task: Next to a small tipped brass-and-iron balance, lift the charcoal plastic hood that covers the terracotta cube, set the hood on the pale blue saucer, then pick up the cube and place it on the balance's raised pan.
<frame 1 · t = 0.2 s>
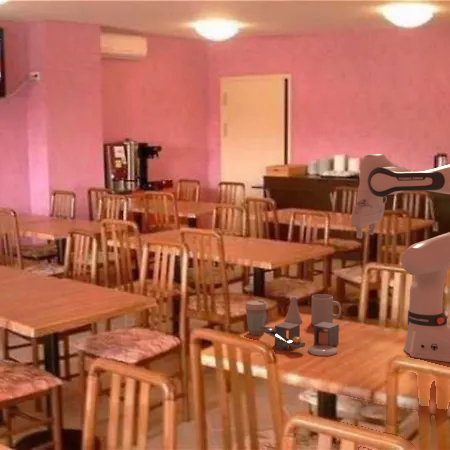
hand: (365, 236, 278), 38 cm above the table, tool pointing down, fingers open, 8 cm apart
hood a: (326, 343, 279), on the table
balance: (282, 348, 273), on the table
mug: (326, 324, 305), on the table
saucer: (322, 351, 270), on the table
hood b: (287, 344, 279), on the table
block: (326, 343, 279), on the table
flask: (293, 322, 308), on the table
coffee cup: (256, 333, 293), on the table
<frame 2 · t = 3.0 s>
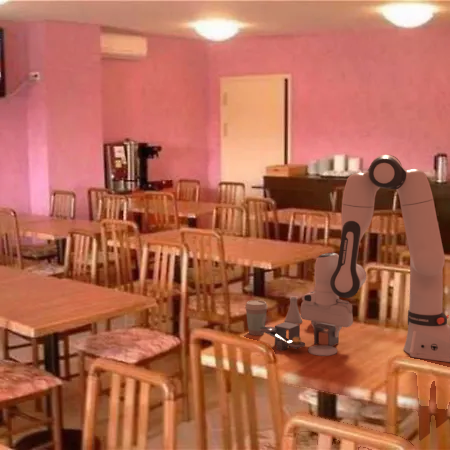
hand: (326, 334, 278), 3 cm above the table, tool pointing down, fingers closed on hood a, 6 cm apart
hood a: (326, 343, 279), on the table, touching gripper
everything else where it was.
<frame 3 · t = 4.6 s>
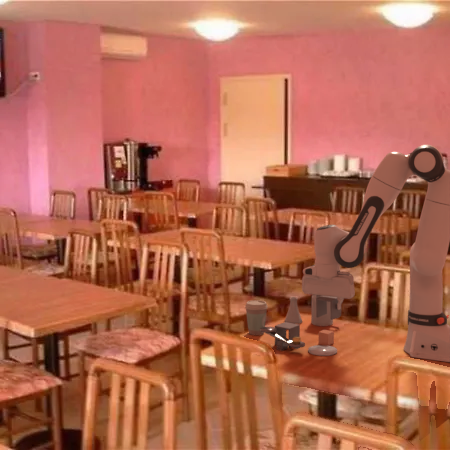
hand: (328, 307, 277), 13 cm above the table, tool pointing down, fingers closed on hood a, 6 cm apart
hood a: (328, 316, 277), point 10 cm above the table, touching gripper
everything else where it was.
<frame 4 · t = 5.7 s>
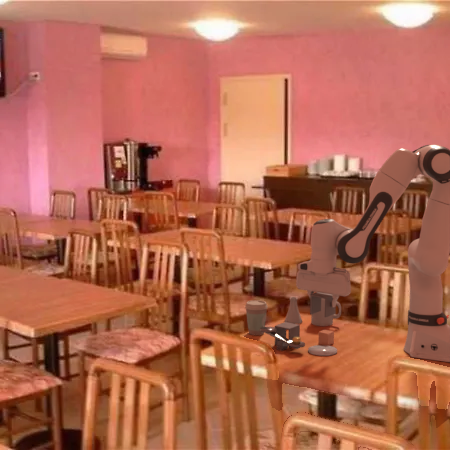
hand: (322, 305, 267), 17 cm above the table, tool pointing down, fingers closed on hood a, 6 cm apart
hood a: (322, 314, 268), point 13 cm above the table, touching gripper
everything else where it was.
when the fingers open (6 cm above the table, at t = 8.2 s): hood a drops 1 cm, resting on saucer.
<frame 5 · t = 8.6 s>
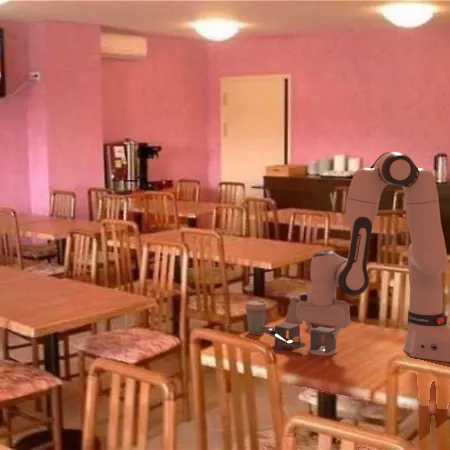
hand: (322, 336, 269), 6 cm above the table, tool pointing down, fingers open, 8 cm apart
hood a: (323, 349, 269), point 1 cm above the table, touching saucer
everything else where it was.
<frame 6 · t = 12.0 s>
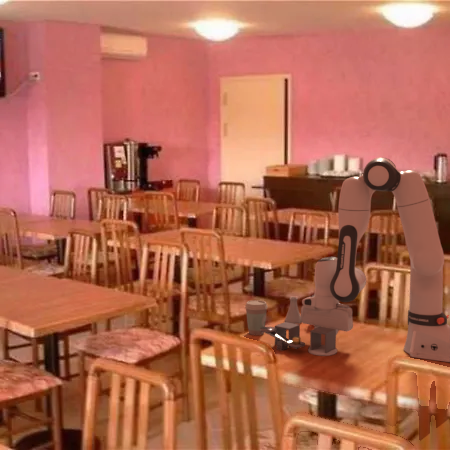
hand: (326, 338, 279), 2 cm above the table, tool pointing down, fingers closed on block, 4 cm apart
block: (326, 343, 279), on the table, touching gripper
everything else where it was.
when the fingers open (9 cm above the table, at t = 16.4 s): block drops 1 cm, resting on balance.
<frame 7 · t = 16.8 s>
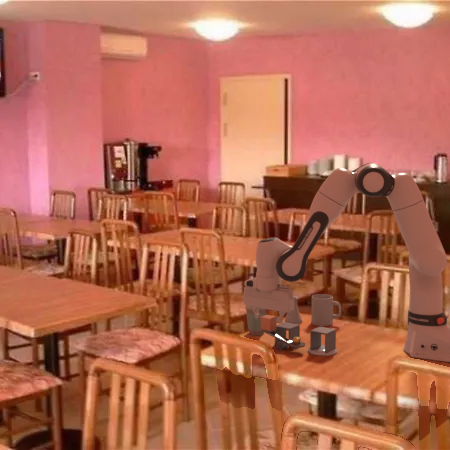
hand: (268, 320, 275), 9 cm above the table, tool pointing down, fingers open, 8 cm apart
block: (268, 328, 276), point 6 cm above the table, touching balance
everything else where it was.
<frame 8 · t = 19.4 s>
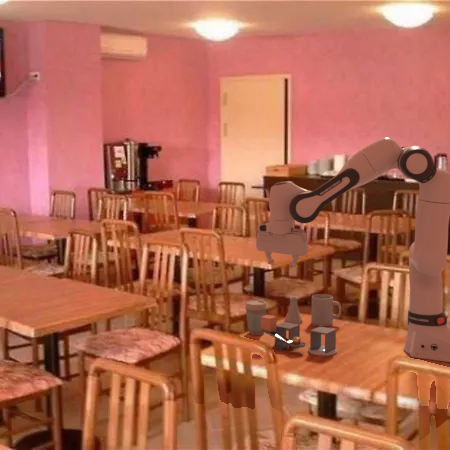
hand: (281, 265, 274), 29 cm above the table, tool pointing down, fingers open, 8 cm apart
nothing on the table moved.
at the end: block 0.0 cm from the target spot on the balance, point 6.3 cm above the balance's base; hood a 0.1 cm from the saucer (horizontally); the gripper is holding nothing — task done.
